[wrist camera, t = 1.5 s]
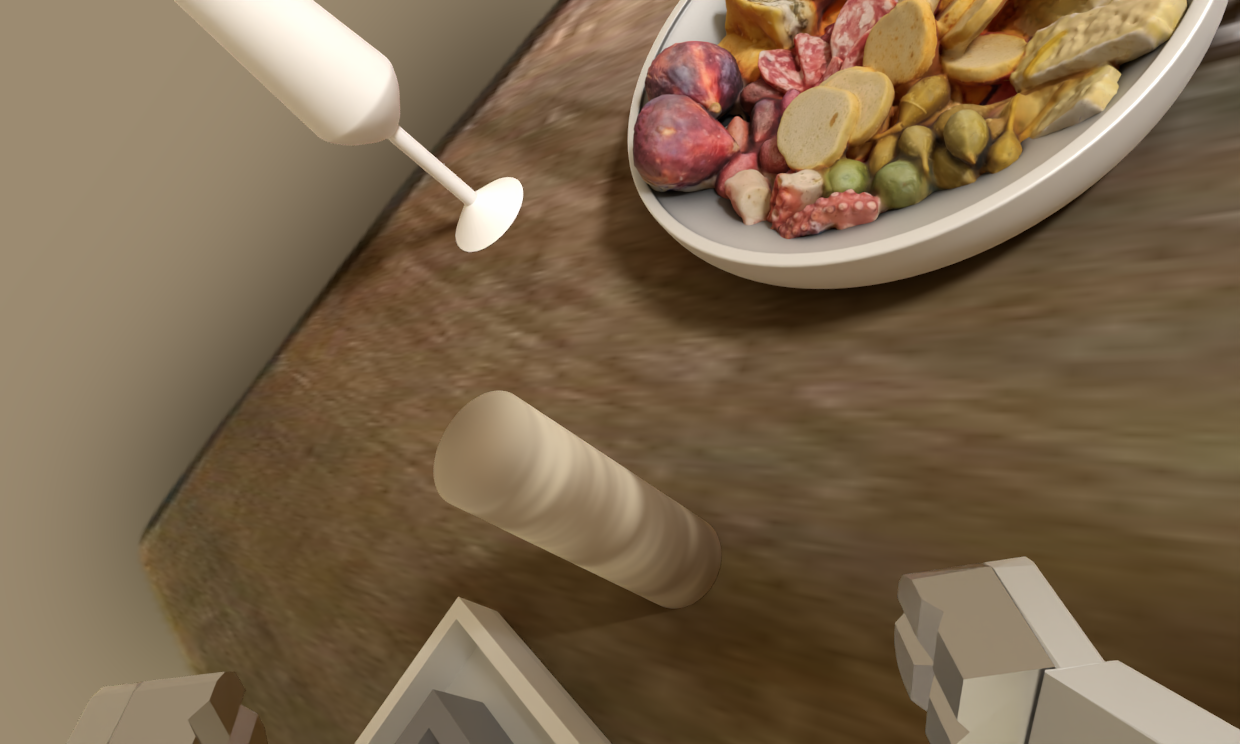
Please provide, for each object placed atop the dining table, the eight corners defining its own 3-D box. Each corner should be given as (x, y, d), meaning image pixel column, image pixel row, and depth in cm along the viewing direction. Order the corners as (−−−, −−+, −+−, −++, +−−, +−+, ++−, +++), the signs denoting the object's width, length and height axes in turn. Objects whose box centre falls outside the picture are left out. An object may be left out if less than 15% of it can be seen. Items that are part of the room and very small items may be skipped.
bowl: (1022, -204, 52) (987, -337, 46) (1436, 34, 32) (1460, -146, 27) (625, 102, 61) (557, 22, 56) (761, 428, 42) (677, 353, 36)
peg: (676, 499, 42) (485, 372, 33) (739, 545, 39) (548, 421, 29) (623, 574, 42) (416, 470, 32) (683, 628, 39) (472, 529, 29)
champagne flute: (522, 162, 65) (247, -102, 48) (524, 224, 61) (225, -40, 44) (456, 204, 68) (174, -31, 51) (454, 267, 64) (147, 33, 47)
